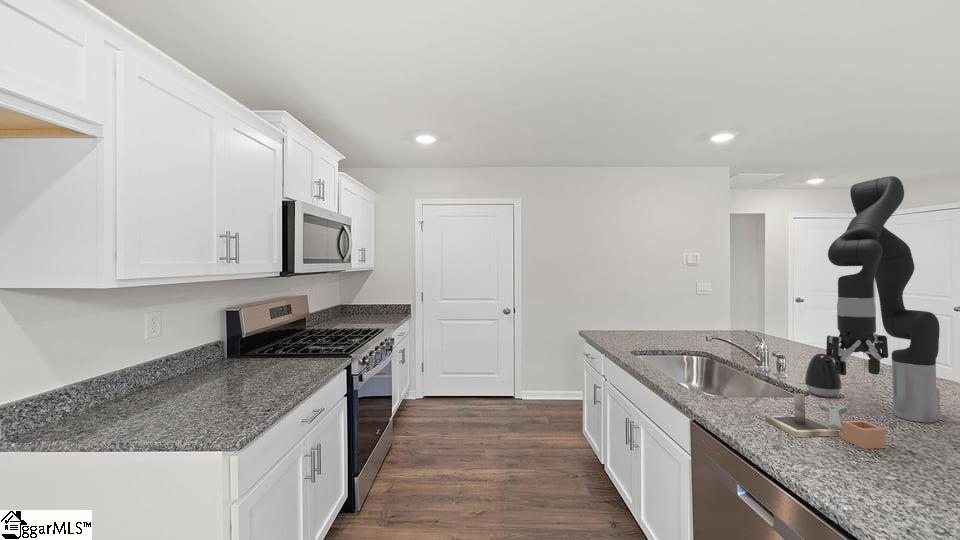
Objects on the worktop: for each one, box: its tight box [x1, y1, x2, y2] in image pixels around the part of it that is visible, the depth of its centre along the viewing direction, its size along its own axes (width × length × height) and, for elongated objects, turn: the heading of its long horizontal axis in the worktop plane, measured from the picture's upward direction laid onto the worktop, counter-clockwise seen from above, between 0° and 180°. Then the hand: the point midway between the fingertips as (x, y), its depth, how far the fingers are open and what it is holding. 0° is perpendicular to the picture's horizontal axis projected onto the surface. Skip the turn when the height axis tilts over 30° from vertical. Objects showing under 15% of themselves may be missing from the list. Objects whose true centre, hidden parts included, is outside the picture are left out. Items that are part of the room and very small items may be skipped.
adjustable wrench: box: [819, 401, 847, 431], centre depth 125 cm, size 25×6×2 cm, turn 135°
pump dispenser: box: [804, 353, 843, 398], centre depth 145 cm, size 10×10×15 cm
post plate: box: [764, 392, 840, 438], centre depth 117 cm, size 12×12×10 cm
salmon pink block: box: [841, 420, 887, 450], centre depth 106 cm, size 6×6×5 cm
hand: (857, 374), depth 107 cm, fingers open, 8 cm apart
